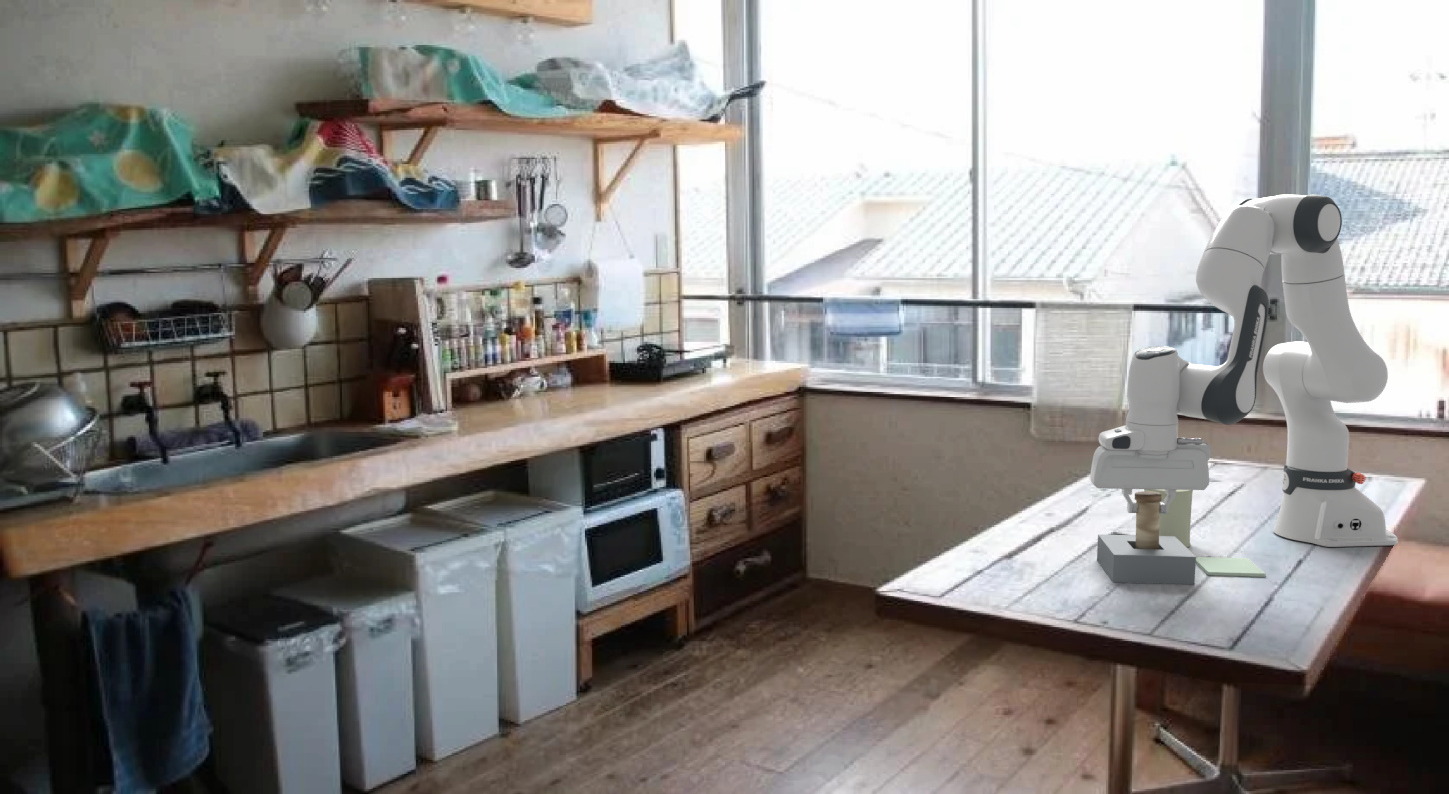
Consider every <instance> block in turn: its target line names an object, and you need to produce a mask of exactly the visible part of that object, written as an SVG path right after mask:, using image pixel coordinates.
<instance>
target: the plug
mask: <svg viewBox="0 0 1449 794" xmlns="http://www.w3.org/2000/svg"><path fill="white" fill-rule="evenodd" d="M1161 500H1162V494H1160V493H1157V492H1150V491H1144V490H1142V491H1137V492H1135V493H1134V501H1135V502H1136V503H1137V504H1138V508H1137V510H1138V512H1137V513H1135V535H1136V549H1158V550H1159V516H1160V501H1161Z"/></svg>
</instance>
